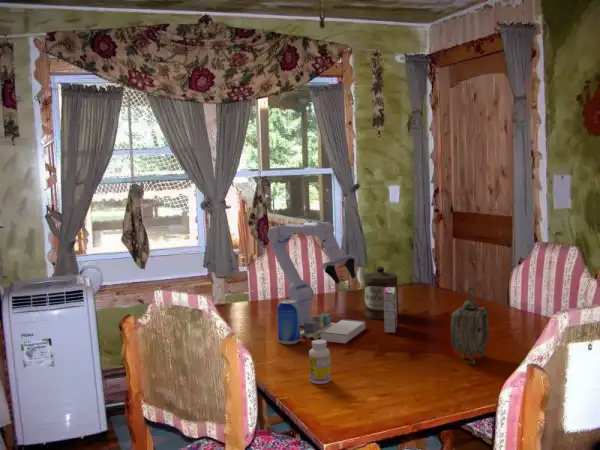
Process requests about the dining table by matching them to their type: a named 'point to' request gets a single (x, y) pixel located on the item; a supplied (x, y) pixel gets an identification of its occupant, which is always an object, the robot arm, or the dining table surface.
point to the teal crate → (326, 319)
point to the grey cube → (310, 327)
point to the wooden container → (378, 292)
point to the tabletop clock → (470, 328)
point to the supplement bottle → (319, 362)
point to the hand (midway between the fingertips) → (346, 280)
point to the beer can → (288, 321)
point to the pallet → (317, 334)
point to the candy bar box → (390, 310)
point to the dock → (343, 331)
